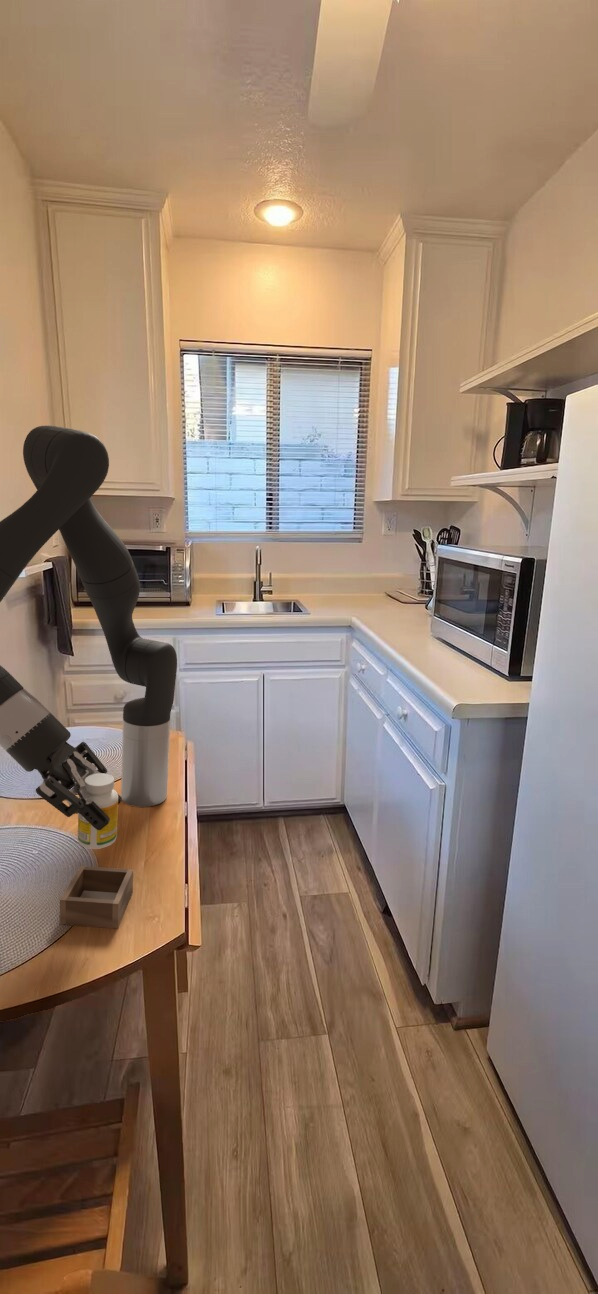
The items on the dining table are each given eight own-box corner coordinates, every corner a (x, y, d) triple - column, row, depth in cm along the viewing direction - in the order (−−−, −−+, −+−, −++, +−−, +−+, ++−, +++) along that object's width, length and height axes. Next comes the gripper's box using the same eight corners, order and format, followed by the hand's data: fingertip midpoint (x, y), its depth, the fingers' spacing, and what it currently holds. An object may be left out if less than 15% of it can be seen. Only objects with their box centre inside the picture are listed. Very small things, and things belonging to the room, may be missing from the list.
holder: (79, 888, 92) (80, 865, 91) (132, 892, 92) (133, 869, 92) (59, 924, 84) (59, 899, 83) (117, 928, 84) (118, 903, 84)
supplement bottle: (73, 849, 83) (74, 787, 81) (83, 829, 88) (84, 770, 86) (112, 851, 84) (114, 788, 81) (120, 830, 89) (122, 771, 87)
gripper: (23, 731, 74) (116, 825, 77) (65, 697, 88) (142, 777, 91) (-19, 767, 75) (75, 858, 78) (29, 727, 89) (107, 806, 92)
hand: (111, 814), depth 85 cm, fingers closed on supplement bottle, 5 cm apart
